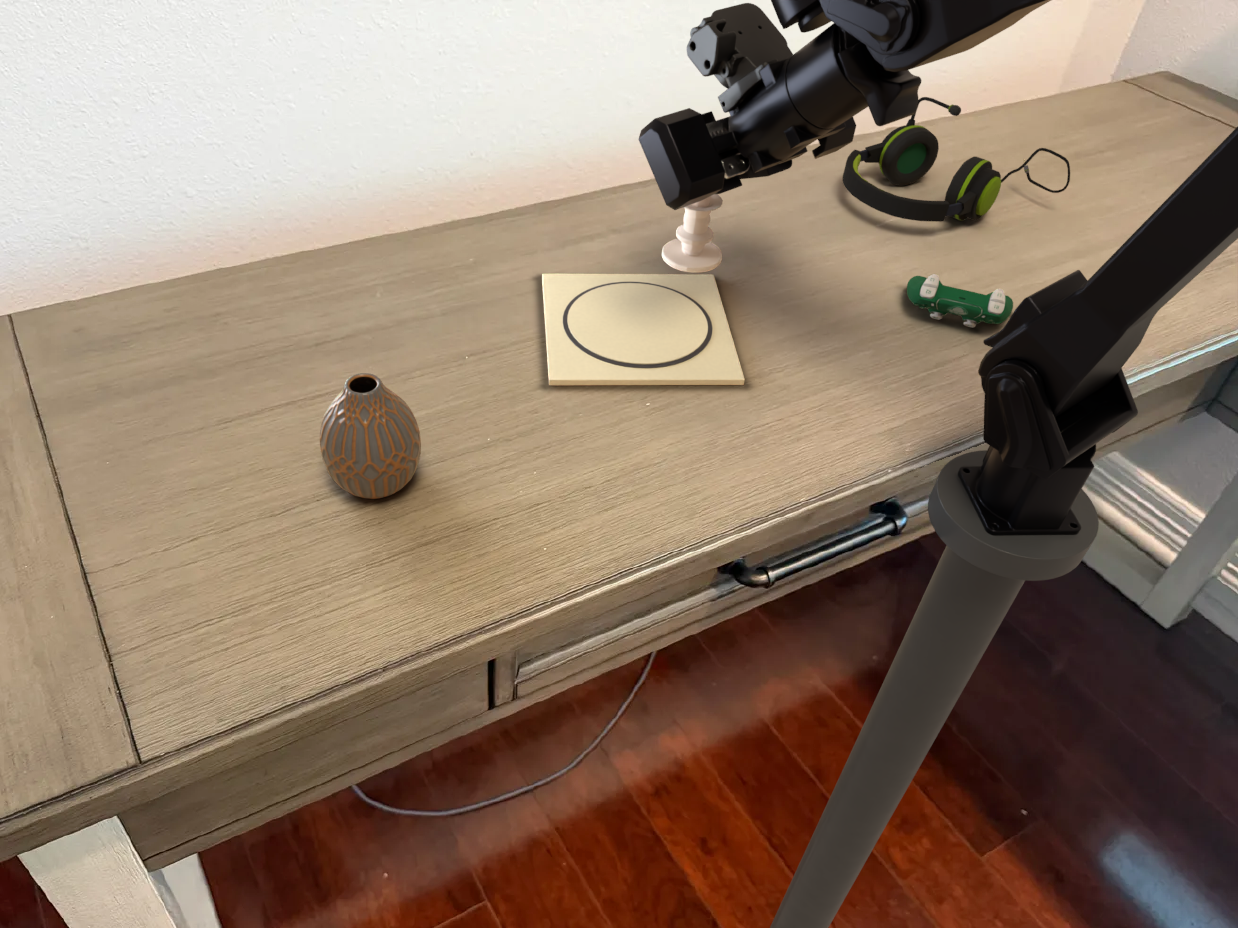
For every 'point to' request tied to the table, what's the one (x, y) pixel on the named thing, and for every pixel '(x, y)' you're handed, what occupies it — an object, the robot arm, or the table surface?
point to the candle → (695, 239)
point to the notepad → (637, 330)
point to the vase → (369, 439)
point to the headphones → (911, 159)
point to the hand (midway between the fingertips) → (689, 180)
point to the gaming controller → (958, 301)
